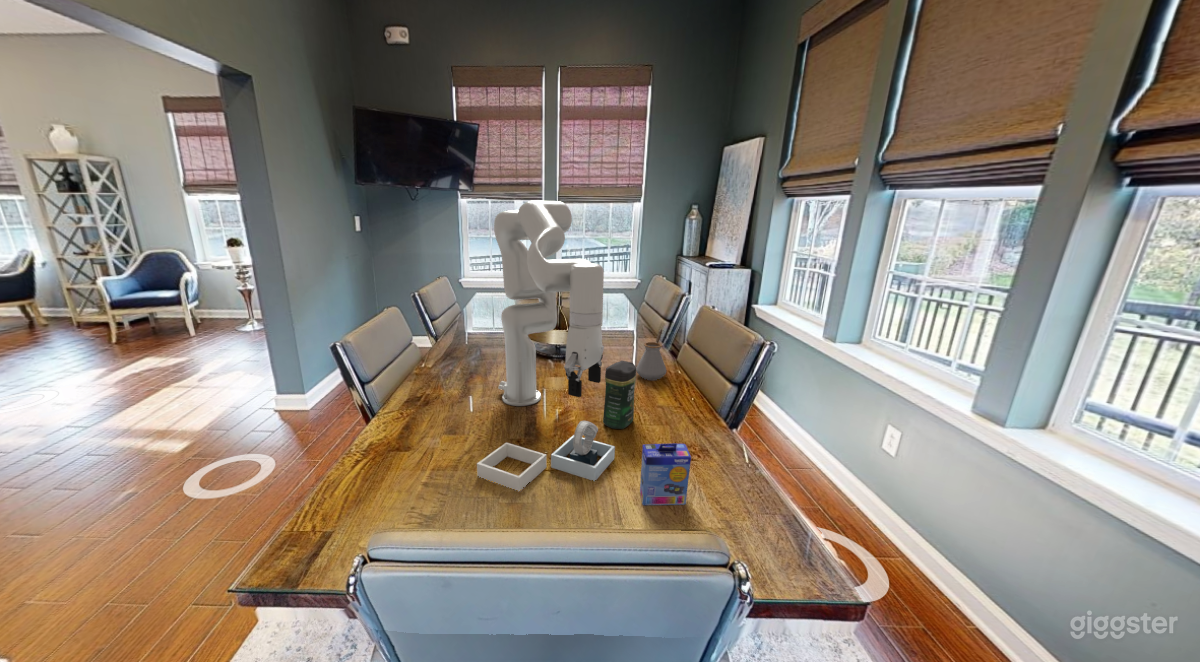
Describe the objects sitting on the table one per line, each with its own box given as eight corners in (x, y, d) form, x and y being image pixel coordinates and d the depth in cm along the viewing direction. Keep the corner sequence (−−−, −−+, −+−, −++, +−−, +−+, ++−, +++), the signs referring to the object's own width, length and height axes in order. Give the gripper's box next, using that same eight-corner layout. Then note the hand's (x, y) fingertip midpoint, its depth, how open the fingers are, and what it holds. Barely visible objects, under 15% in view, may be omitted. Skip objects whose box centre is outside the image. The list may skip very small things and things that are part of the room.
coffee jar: (623, 432, 126) (626, 371, 121) (599, 425, 130) (600, 366, 125) (637, 419, 134) (640, 361, 129) (614, 413, 138) (616, 356, 133)
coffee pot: (662, 384, 162) (665, 345, 158) (632, 379, 165) (633, 341, 161) (673, 365, 181) (676, 330, 177) (646, 362, 185) (648, 327, 181)
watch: (600, 457, 113) (601, 418, 111) (586, 474, 106) (587, 432, 103) (580, 452, 116) (580, 414, 113) (565, 468, 108) (566, 427, 105)
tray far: (551, 467, 109) (551, 454, 108) (573, 446, 118) (573, 435, 117) (594, 481, 104) (595, 468, 103) (614, 458, 113) (614, 446, 112)
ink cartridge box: (642, 507, 95) (646, 446, 91) (638, 491, 100) (641, 433, 97) (687, 505, 96) (693, 446, 92) (681, 490, 101) (686, 432, 97)
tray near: (477, 476, 104) (476, 463, 103) (506, 454, 114) (506, 442, 113) (519, 491, 99) (519, 478, 98) (546, 467, 109) (546, 454, 108)
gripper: (589, 309, 110) (587, 374, 115) (551, 324, 95) (551, 398, 100) (616, 313, 107) (614, 379, 111) (582, 329, 92) (581, 405, 96)
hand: (584, 388), depth 105 cm, fingers open, 9 cm apart
